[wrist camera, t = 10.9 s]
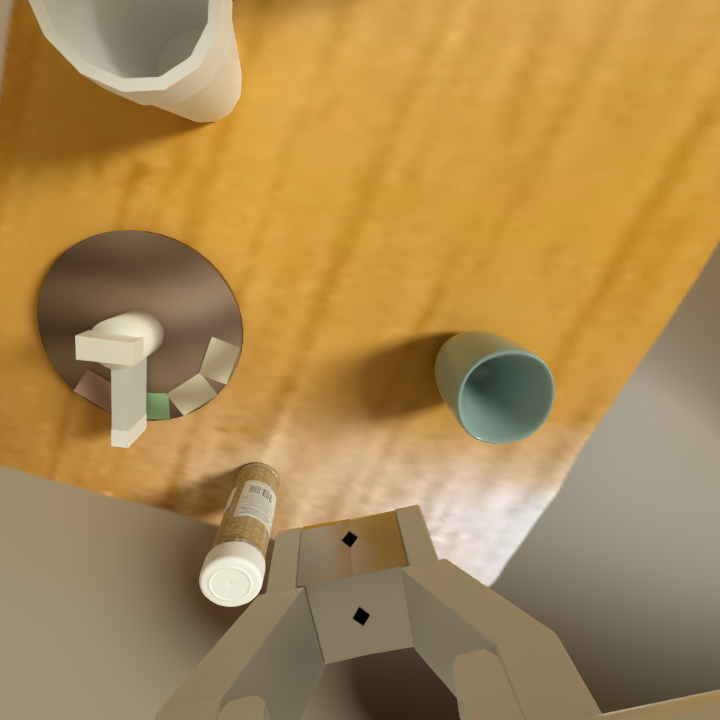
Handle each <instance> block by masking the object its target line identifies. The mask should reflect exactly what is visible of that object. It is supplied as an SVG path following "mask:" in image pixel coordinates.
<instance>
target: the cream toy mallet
mask: <svg viewBox="0 0 720 720" xmlns="http://www.w3.org/2000/svg"><path fill="white" fill-rule="evenodd" d="M163 340H164V330H163V327H162V325H161V323H160V321H159V320H158V319H157V318H156V317H155V316H154V315H152V314H151V313H149V312H147V311H143V310H131V311H128V312H125V313H123V314H120V315H118V316H115V317H112V318H110V319H107V320H105V321H102V322H100V323H98V324H97V325H95V326H94V327H93V329H92V330H88V331H86V332H83V333H81V334H78V335H76V336H75V345H76V359H77V360H85V361H94V362H99V363H100V364H102V365H103V366H105V367H107V368H110V369H111V402H112V430H111V446H115V447H126V448H129V446H130V445H131V444H132V443H133V442H134V441H135V440H136V439H137V438H138V437H139V436H140V435H141V434H142V433H143V432H144V430H145V429H146V423H147V414H146V379H147V356H149V355H150V354H152V353H153V352H155V351H156V350H158V349H159V348H160V346H161V345H162V343H163Z"/></svg>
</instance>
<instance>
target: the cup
mask: <svg viewBox="0 0 720 720" xmlns="http://www.w3.org/2000/svg"><path fill="white" fill-rule="evenodd" d="M435 380H436V384H437V387H438V390H439V392H440V395H441V397H442V398H443V400H444V402H445V404H446V406H447V407H448V409H449V410H450V412H451V413H452V415H453V416H454V418H455V419H456V421H457V422H458V423H459V424H460V426H461V427H462V428H463V429H464V430H465V431H466V432H467V433H468V434H469V435H471V436H472V437H474V438H475V439H477V440H480V441H482V442H486V443H492V444H505V443H511V442H515V441H519V440H522V439H524V438H526V437H528V436H530V435H532V434H533V433H534V432H536V431H537V430H538V429H539V428H540V427H541V426H542V425H543V424H544V422H545V421H546V419H547V417H548V416H549V414H550V411H551V408H552V405H553V400H554V380H553V376H552V373H551V371H550V369H549V367H548V366H547V365H546V363H545V362H544V361H543V360H542V359H541V358H540V357H538V356H537V355H536V354H535V353H533V352H532V351H530V350H528V349H527V348H525V347H523V346H521V345H520V344H518V343H516V342H514V341H512V340H510V339H508V338H505V337H503V336H501V335H498V334H495V333H491V332H486V331H466V332H462V333H459V334H456V335H454V336H453V337H451V338H449V339H448V340H447V341H446V342H445V343H444V344H443V345H442V346H441V348H440V350H439V352H438V354H437V358H436V361H435Z"/></svg>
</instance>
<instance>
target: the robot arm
mask: <svg viewBox="0 0 720 720" xmlns="http://www.w3.org/2000/svg"><path fill="white" fill-rule="evenodd" d="M408 647H414V648H415V650H416V651H417V652H418V653H419V655H420V656H421V657H422V658H423V659H424V660H425V661H426V663H427V664H428V665H429V666H430V667H431V668H432V670H433V671H434V672H435V673H436V674H437V675H438V676H439V678H440V679H441V680H442V681H443V682H444V683H445V684H446V686H447V687H448V688H449V689H450V690H451V692H452V693H453V694H454V695H455V696H456V697H457V699H458V707H459V714H460V720H720V690H716V691H711V692H706V693H701V694H696V695H691V696H687V697H682V698H677V699H672V700H667V701H663V702H658V703H653V704H648V705H643V706H638V707H633V708H629V709H624V710H619V711H614V712H609V713H604V714H602V713H601V711H600V709H599V708H598V706H597V704H596V702H595V701H594V699H593V697H592V696H591V694H590V692H589V690H588V689H587V687H586V685H585V683H584V682H583V680H582V678H581V676H580V675H579V673H578V671H577V669H576V668H575V666H574V664H573V662H572V661H571V659H570V657H569V656H568V654H567V652H566V650H565V649H564V647H563V645H562V643H561V642H560V640H559V638H558V636H557V635H556V633H555V632H553V631H552V630H550V629H549V628H547V627H546V626H544V625H543V624H541V623H540V622H538V621H537V620H535V619H534V618H532V617H531V616H529V615H528V614H526V613H525V612H524V611H522V610H521V609H519V608H518V607H516V606H515V605H513V604H512V603H510V602H509V601H507V600H506V599H504V598H503V597H501V596H500V595H498V594H497V593H495V592H494V591H493V590H491V589H490V588H488V587H487V586H485V585H484V584H482V583H481V582H479V581H478V580H476V579H475V578H473V577H472V576H470V575H469V574H467V573H466V572H464V571H463V570H462V569H460V568H459V567H457V566H456V565H454V564H453V563H451V562H450V561H448V560H447V559H442V560H438V557H437V554H436V552H435V549H434V546H433V543H432V540H431V537H430V534H429V531H428V528H427V526H426V523H425V520H424V517H423V514H422V511H421V508H420V506H418V505H413V506H409V507H404V508H400V509H395V511H390V512H385V513H380V514H375V515H370V516H364V517H359V518H354V519H347V520H341V521H335V522H329V523H323V524H317V525H311V526H305V527H303V528H301V527H300V528H295V529H289V530H284V531H279V532H278V534H277V536H276V539H275V545H274V550H273V556H272V562H271V568H270V574H269V579H268V586H267V591H266V594H263V595H259V596H258V597H257V598H256V599H255V600H254V601H253V603H252V604H251V605H250V606H249V607H248V608H247V609H246V611H245V612H244V613H243V614H242V615H241V616H240V618H239V619H238V620H237V621H236V622H235V623H234V624H233V626H232V627H231V628H230V629H229V630H228V631H227V633H226V634H225V635H224V636H223V637H222V638H221V639H220V641H219V642H218V643H217V644H216V645H215V646H214V648H213V649H212V650H211V651H210V652H209V653H208V654H207V656H206V657H205V658H204V659H203V660H202V661H201V663H200V664H199V665H198V666H197V667H196V668H195V669H194V671H193V672H192V673H191V674H190V675H189V676H188V678H187V679H186V680H185V681H184V682H183V683H182V685H181V686H180V687H179V688H178V689H177V690H176V691H175V692H174V694H173V695H172V696H171V697H170V698H169V699H168V701H167V702H166V703H165V704H164V705H163V707H162V708H161V709H160V710H159V711H158V712H157V715H156V718H155V720H300V718H301V716H302V714H303V712H304V710H305V708H306V706H307V704H308V702H309V700H310V698H311V696H312V694H313V691H314V689H315V687H316V685H317V683H318V681H319V679H320V677H321V675H322V673H323V671H324V668H325V666H324V665H325V664H329V663H333V662H337V661H342V660H346V659H350V658H354V657H359V656H363V655H367V654H373V653H379V652H385V651H390V650H397V649H402V648H408Z"/></svg>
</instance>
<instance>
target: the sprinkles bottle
mask: <svg viewBox="0 0 720 720" xmlns="http://www.w3.org/2000/svg"><path fill="white" fill-rule="evenodd" d="M279 487H280V479H279V476H278V474H277V472H276V471H275V470H274V469H273V468H272V467H270V466H268V465H266V464H263V463H253V464H249V465H246V466H244V467H243V468H242V469H241V470H240V471H239V473H238V474H237V476H236V479H235V485H234V488H233V491H232V492H231V494H230V497H229V499H228V502H227V505H226V508H225V511H224V514H223V519H222V522H221V524H220V527H219V530H218V533H217V536H216V538H215V542H214V544H213V547H212V550H211V551H210V552H209V553H208V555H207V557H206V559H205V561H204V564H203V567H202V570H201V573H200V578H199V583H200V588H201V590H202V592H203V594H204V595H205V596H206V597H207V598H208V599H209V600H211V601H212V602H214V603H216V604H218V605H222V606H239V605H243V604H245V603H247V602H249V601H251V600H252V599H254V598H255V597H256V596H257V594H258V593H259V591H260V589H261V586H262V582H263V577H264V573H265V555H266V550H267V545H268V542H269V538H270V533H271V527H272V522H273V517H274V511H275V506H276V497H277V492H278V490H279Z"/></svg>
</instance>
